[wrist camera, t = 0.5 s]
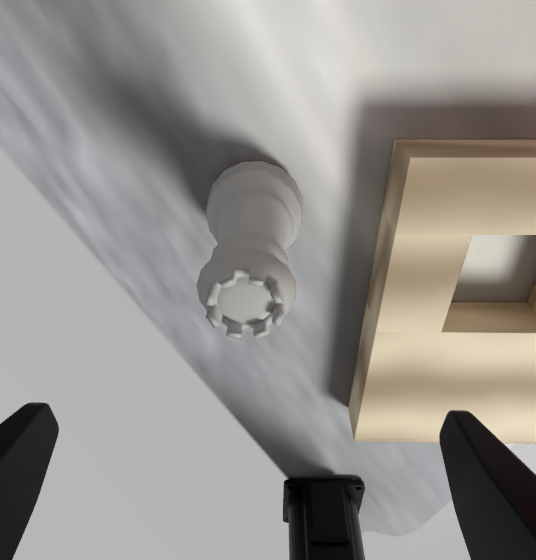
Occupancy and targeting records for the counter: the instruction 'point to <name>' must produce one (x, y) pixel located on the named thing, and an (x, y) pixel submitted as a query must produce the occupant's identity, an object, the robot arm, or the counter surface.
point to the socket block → (446, 296)
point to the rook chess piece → (250, 248)
